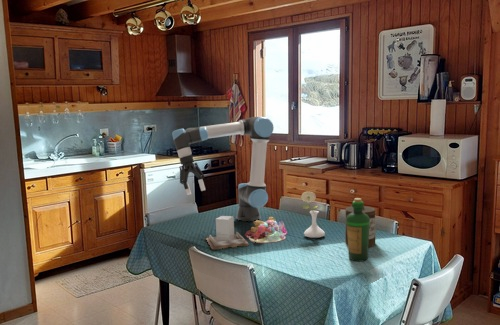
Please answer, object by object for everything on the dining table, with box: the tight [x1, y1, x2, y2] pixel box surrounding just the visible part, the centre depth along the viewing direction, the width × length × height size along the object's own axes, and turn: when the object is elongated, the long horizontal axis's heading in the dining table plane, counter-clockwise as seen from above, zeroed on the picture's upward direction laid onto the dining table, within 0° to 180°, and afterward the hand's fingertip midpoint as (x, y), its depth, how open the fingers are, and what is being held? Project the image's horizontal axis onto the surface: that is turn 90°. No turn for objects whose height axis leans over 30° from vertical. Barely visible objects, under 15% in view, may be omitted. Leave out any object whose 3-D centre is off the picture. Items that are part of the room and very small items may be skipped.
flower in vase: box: [300, 190, 326, 239], centre depth 253 cm, size 13×11×25 cm
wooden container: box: [344, 205, 376, 248], centre depth 237 cm, size 15×15×22 cm
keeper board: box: [205, 231, 250, 251], centre depth 248 cm, size 19×18×3 cm
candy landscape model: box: [244, 216, 288, 244], centre depth 258 cm, size 25×24×9 cm
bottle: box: [345, 197, 370, 262], centre depth 215 cm, size 11×11×28 cm
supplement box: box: [215, 215, 235, 242], centre depth 247 cm, size 7×7×13 cm
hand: (196, 192), depth 263 cm, fingers open, 13 cm apart
